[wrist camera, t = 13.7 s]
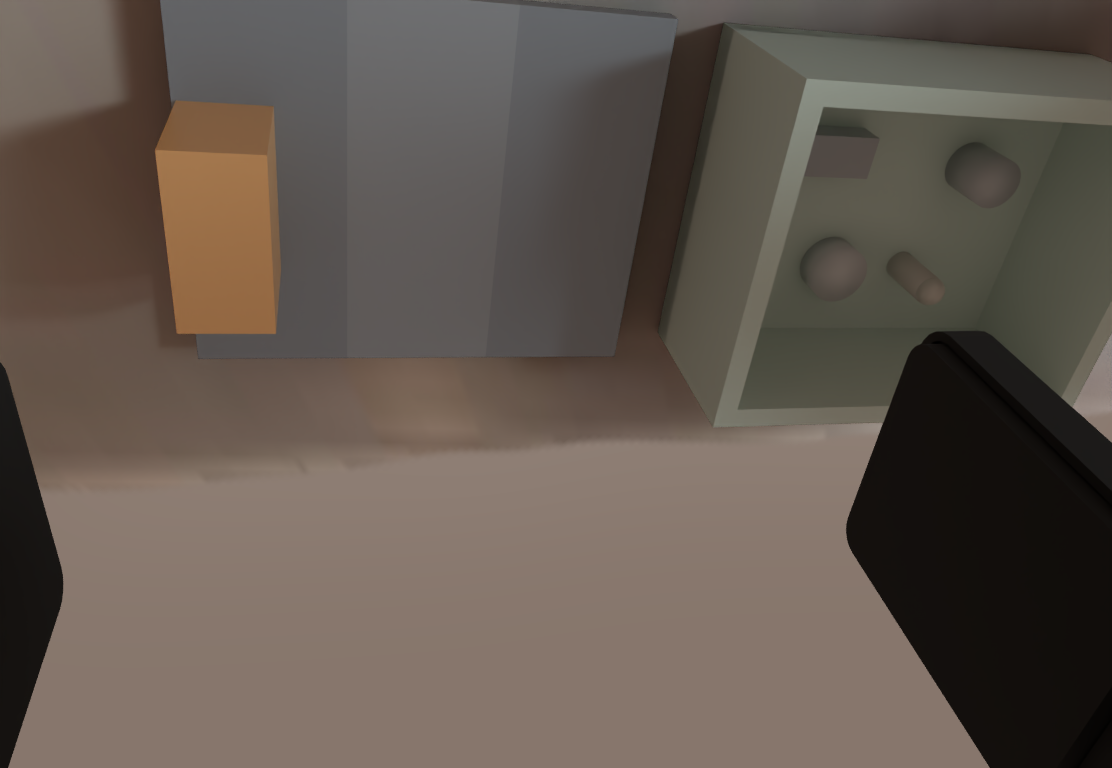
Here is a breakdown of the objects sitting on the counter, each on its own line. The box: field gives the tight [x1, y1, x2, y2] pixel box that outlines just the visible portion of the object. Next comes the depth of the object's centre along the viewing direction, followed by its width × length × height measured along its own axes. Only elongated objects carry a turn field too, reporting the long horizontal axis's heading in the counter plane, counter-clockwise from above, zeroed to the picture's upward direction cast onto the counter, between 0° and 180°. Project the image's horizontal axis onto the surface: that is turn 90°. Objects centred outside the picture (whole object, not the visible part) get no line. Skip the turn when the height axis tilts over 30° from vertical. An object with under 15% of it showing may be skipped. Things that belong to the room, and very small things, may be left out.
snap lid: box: [155, 0, 678, 359], centre depth 32 cm, size 16×14×6 cm
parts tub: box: [658, 23, 1112, 427], centre depth 36 cm, size 16×13×8 cm
